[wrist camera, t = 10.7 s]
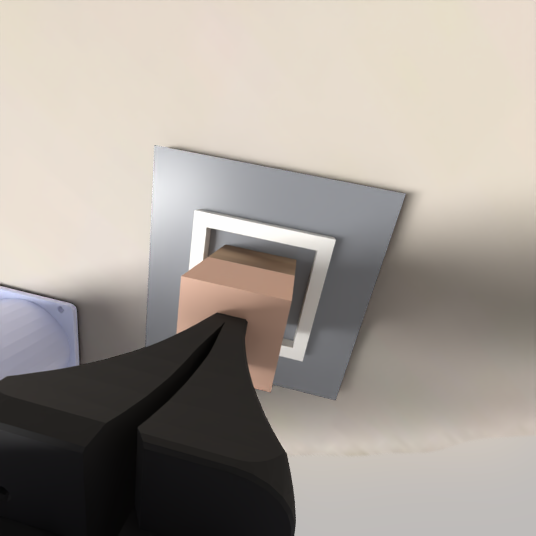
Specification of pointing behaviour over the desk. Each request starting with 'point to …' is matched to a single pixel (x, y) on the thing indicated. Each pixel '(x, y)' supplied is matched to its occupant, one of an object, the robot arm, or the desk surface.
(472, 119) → the desk surface
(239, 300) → the brick stack
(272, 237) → the base plate
